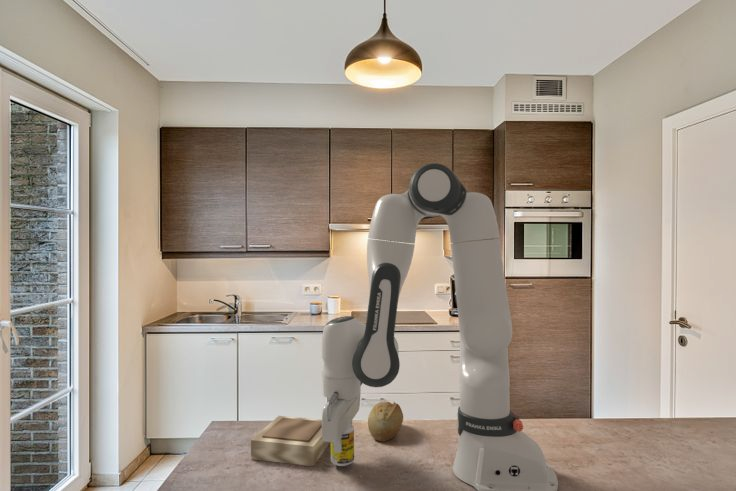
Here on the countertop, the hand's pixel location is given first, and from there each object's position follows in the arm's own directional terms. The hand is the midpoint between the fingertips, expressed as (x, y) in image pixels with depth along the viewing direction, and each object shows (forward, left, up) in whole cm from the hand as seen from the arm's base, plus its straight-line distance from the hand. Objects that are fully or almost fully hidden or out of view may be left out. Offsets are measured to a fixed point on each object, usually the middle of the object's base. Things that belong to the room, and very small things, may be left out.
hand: (342, 445), depth 105 cm
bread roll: (-6, -21, -5) cm, 23 cm away
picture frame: (+15, -6, -5) cm, 16 cm away
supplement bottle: (0, 0, -4) cm, 4 cm away
